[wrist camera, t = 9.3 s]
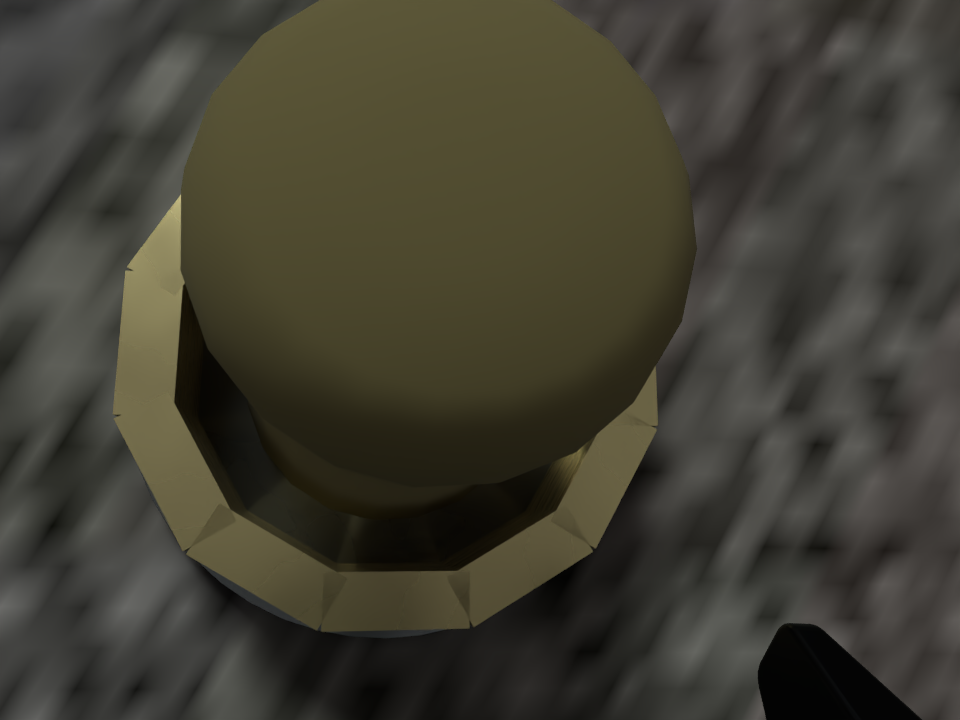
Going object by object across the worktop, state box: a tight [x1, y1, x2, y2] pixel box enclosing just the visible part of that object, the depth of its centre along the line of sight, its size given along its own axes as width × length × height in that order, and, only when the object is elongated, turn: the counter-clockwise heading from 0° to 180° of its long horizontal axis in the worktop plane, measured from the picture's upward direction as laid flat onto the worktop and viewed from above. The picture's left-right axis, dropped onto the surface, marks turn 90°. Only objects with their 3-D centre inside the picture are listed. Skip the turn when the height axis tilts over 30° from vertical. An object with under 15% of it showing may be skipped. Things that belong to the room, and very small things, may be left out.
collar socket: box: [113, 195, 658, 638], centre depth 17 cm, size 11×11×3 cm
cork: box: [180, 0, 697, 520], centre depth 12 cm, size 6×6×11 cm
